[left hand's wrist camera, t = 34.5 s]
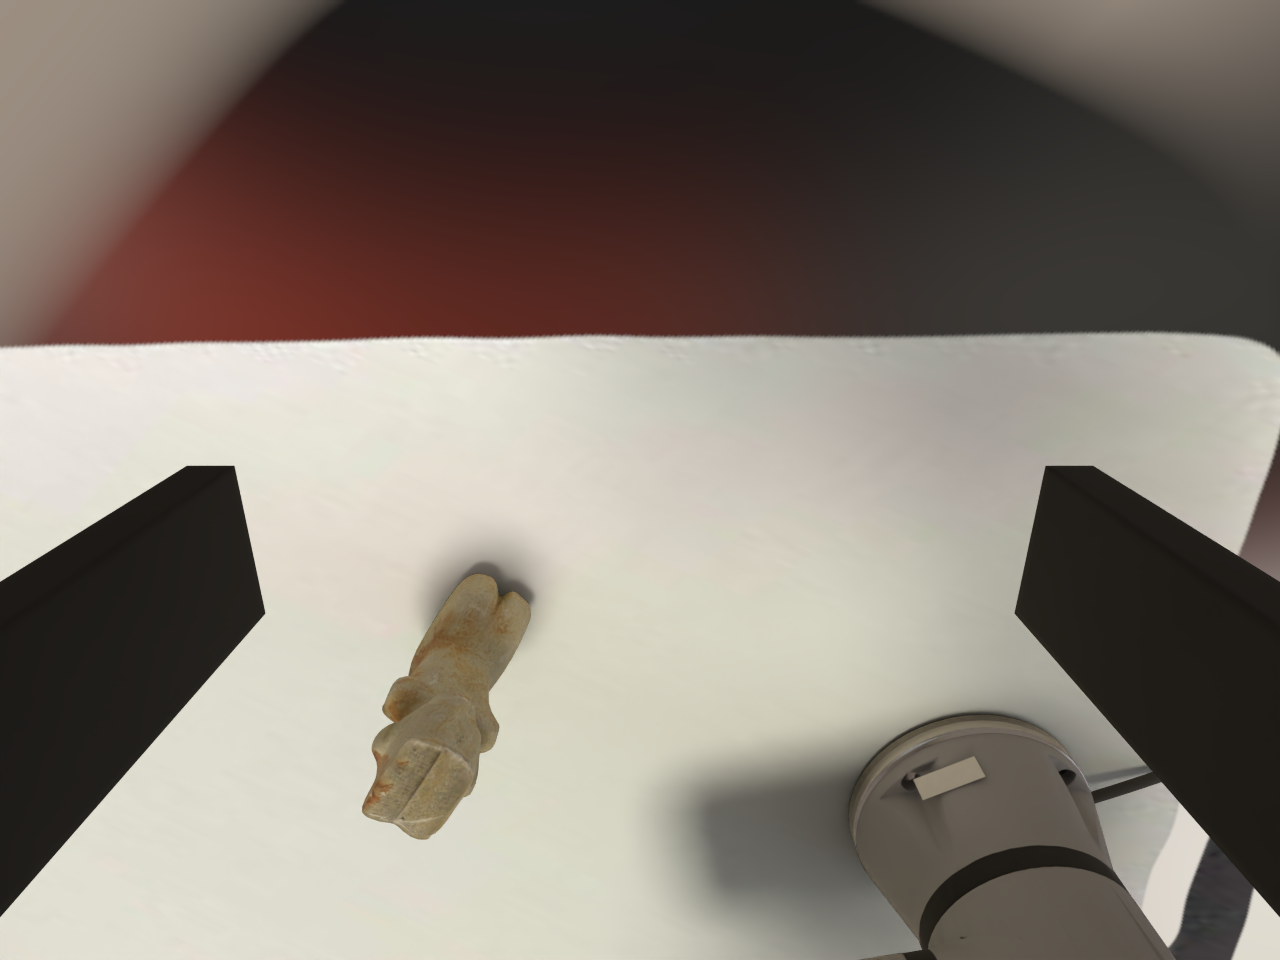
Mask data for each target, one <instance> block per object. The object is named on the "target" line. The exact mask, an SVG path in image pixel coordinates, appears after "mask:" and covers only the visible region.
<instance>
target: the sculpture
mask: <svg viewBox="0 0 1280 960" xmlns="http://www.w3.org/2000/svg"><path fill="white" fill-rule="evenodd" d="M530 617H531V610H530V607H529V605H528V603H527V602H526V601H525V600H524V599H523V598H522V597H521V596H520V595H519V594H517V593H515V592H509V593H507V594H505V595H503V596H499V593H498V588H497V584H496V582H495V580H494V579H493V578H492V577H490V576H487V575H483V574H473V575H471V576H469V577H467V578H465V579H464V580H463V581H462V582H461V583H460V584H459V585H458V586H457V587H456V589H455V590H454V591H453V593H452V594H451V595H450V597H449V598H448V600H447V601H446V602H445V604H444V605H443V607H442V608H441V610H440V611H439V613H438V615H437V616H436V618H435V619H434V621H433V623H432V624H431V626H430V628H429V629H428V631H427V632H426V634H425V636H424V638H423V640H422V641H421V643H420V645H419V647H418V649H417V650H416V653H415V655H414V658H413V660H412V663H411V667H410V671H409V676H407V677H402V678H399V679H397V680H396V681H395V682H394V684H393V685H392V687H391V689H390V691H389V694H388V696H387V698H386V701H385V704H384V705H383V708H382V710H383V713H384V714H385V715H386V716H387V717H388V718H389V719H390V720H392V721H393V722H394V723H392V724H390V725H388V726H387V727H385V728H384V729H382V730H381V731H380V732H379V733H378V735H377V736H376V737H375V739H374V741H373V744H372V752H373V755H374V757H375V759H376V762H377V775H376V779H375V781H374V783H373V785H372V787H371V789H370V791H369V793H368V795H367V797H366V799H365V801H364V804H363V806H362V813H363V814H364V815H365V816H367V817H368V818H371V819H374V820H377V821H380V822H388V823H393V824H395V825H397V826H398V827H399V828H400V829H401V830H403V831H404V832H405V833H406V834H408V835H409V836H411V837H413V838H416V839H423V840H424V839H429V837H430V836H431V835H432V834H434V833H436V832H437V831H438V830H439V829H440V828H441V827H442V826H443V825H444V823H445V822H446V821H447V820H448V818H449V817H450V815H451V814H452V812H453V811H454V809H455V808H456V806H457V805H458V803H459V802H460V801H461V799H462V798H463V797H466V796H468V795H470V794H471V792H472V790H473V788H474V786H475V784H476V779H477V775H478V766H479V754H480V753H484V752H486V751H488V750H490V749H491V748H492V747H493V746H494V744H495V742H496V738H497V735H498V731H499V724H498V722H497V721H496V719H495V717H494V715H493V714H492V712H491V709H490V706H489V691H490V690H491V688H492V687H493V686H494V684H495V683H496V682H497V680H498V679H499V677H500V676H501V675H502V673H503V672H504V670H505V669H506V667H507V665H508V664H509V662H510V660H511V659H512V657H513V655H514V653H515V651H516V649H517V647H518V645H519V643H520V641H521V639H522V637H523V635H524V633H525V630H526V628H527V626H528V623H529V621H530Z"/></svg>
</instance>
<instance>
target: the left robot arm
mask: <svg viewBox="0 0 1280 960" xmlns="http://www.w3.org/2000/svg"><path fill="white" fill-rule="evenodd" d="M264 614H265V609H264V605H263V600H262V595H261V590H260V586H259V581H258V576H257V571H256V567H255V562H254V557H253V552H252V547H251V543H250V538H249V533H248V528H247V524H246V519H245V514H244V509H243V505H242V500H241V495H240V490H239V486H238V481H237V476H236V471H235V467H234V466H186V467H184V468H183V469H181V470H180V471H178V472H176V473H175V474H173V475H171V476H170V477H168V478H167V479H165V480H163V481H162V482H160V483H159V484H157V485H155V486H154V487H152V488H151V489H149V490H147V491H146V492H144V493H143V494H141V495H139V496H138V497H136V498H134V499H133V500H131V501H130V502H128V503H126V504H125V505H123V506H122V507H120V508H118V509H117V510H115V511H114V512H112V513H110V514H109V515H107V516H105V517H104V518H102V519H101V520H99V521H97V522H96V523H94V524H93V525H91V526H89V527H88V528H86V529H85V530H83V531H81V532H80V533H78V534H77V535H75V536H73V537H72V538H70V539H68V540H67V541H65V542H64V543H62V544H60V545H59V546H57V547H56V548H54V549H52V550H51V551H49V552H48V553H46V554H44V555H43V556H41V557H39V558H38V559H36V560H35V561H33V562H31V563H30V564H28V565H27V566H25V567H23V568H22V569H20V570H19V571H17V572H15V573H14V574H12V575H11V576H9V577H7V578H6V579H4V580H2V581H1V582H0V917H1V916H2V914H3V913H4V912H5V911H6V910H7V909H8V908H9V906H10V905H11V904H12V903H13V902H14V901H15V900H16V898H17V897H18V896H19V895H20V894H21V893H22V892H23V890H24V889H25V888H26V887H27V886H28V885H29V884H30V882H31V881H32V880H33V879H34V878H35V877H36V876H37V874H38V873H39V872H40V871H41V870H42V869H43V868H44V866H45V865H46V864H47V863H48V862H49V861H50V859H51V858H52V857H53V856H54V855H55V854H56V853H57V851H58V850H59V849H60V848H61V847H62V846H63V845H64V843H65V842H66V841H67V840H68V839H69V838H70V837H71V835H72V834H73V833H74V832H75V831H76V830H77V829H78V827H79V826H80V825H81V824H82V823H83V822H84V821H85V819H86V818H87V817H88V816H89V815H90V814H91V813H92V811H93V810H94V809H95V808H96V807H97V806H98V805H99V803H100V802H101V801H102V800H103V799H104V798H105V797H106V795H107V794H108V793H109V792H110V791H111V790H112V788H113V787H114V786H115V785H116V784H117V783H118V782H119V780H120V779H121V778H122V777H123V776H124V775H125V774H126V772H127V771H128V770H129V769H130V768H131V767H132V766H133V764H134V763H135V762H136V761H137V760H138V759H139V758H140V756H141V755H142V754H143V753H144V752H145V751H146V750H147V748H148V747H149V746H150V745H151V744H152V743H153V742H154V740H155V739H156V738H157V737H158V736H159V735H160V734H161V732H162V731H163V730H164V729H165V728H166V727H167V726H168V724H169V723H170V722H171V721H172V720H173V719H174V717H175V716H176V715H177V714H178V713H179V712H180V711H181V709H182V708H183V707H184V706H185V705H186V704H187V703H188V701H189V700H190V699H191V698H192V697H193V696H194V695H195V693H196V692H197V691H198V690H199V689H200V688H201V687H202V685H203V684H204V683H205V682H206V681H207V680H208V679H209V677H210V676H211V675H212V674H213V673H214V672H215V671H216V669H217V668H218V667H219V666H220V665H221V664H222V663H223V661H224V660H225V659H226V658H227V657H228V656H229V655H230V653H231V652H232V651H233V650H234V649H235V648H236V646H237V645H238V644H239V643H240V642H241V641H242V640H243V638H244V637H245V636H246V635H247V634H248V633H249V632H250V630H251V629H252V628H253V627H254V626H255V625H256V624H257V622H258V621H259V620H260V619H261V618H262V617H263V616H264ZM1015 614H1016V616H1017V617H1018V618H1019V619H1020V620H1021V621H1022V622H1023V624H1024V625H1025V626H1026V627H1027V628H1028V629H1029V630H1030V632H1031V633H1032V634H1033V635H1034V636H1035V637H1036V638H1037V640H1038V641H1039V642H1040V643H1041V644H1042V645H1043V646H1044V648H1045V649H1046V650H1047V651H1048V652H1049V653H1050V655H1051V656H1052V657H1053V658H1054V659H1055V660H1056V661H1057V663H1058V664H1059V665H1060V666H1061V667H1062V668H1063V669H1064V671H1065V672H1066V673H1067V674H1068V675H1069V676H1070V677H1071V679H1072V680H1073V681H1074V682H1075V683H1076V684H1077V685H1078V687H1079V688H1080V689H1081V690H1082V691H1083V692H1084V693H1085V695H1086V696H1087V697H1088V698H1089V699H1090V700H1091V701H1092V703H1093V704H1094V705H1095V706H1096V707H1097V708H1098V709H1099V711H1100V712H1101V713H1102V714H1103V715H1104V716H1105V717H1106V719H1107V720H1108V721H1109V722H1110V723H1111V724H1112V726H1113V727H1114V728H1115V729H1116V730H1117V731H1118V732H1119V734H1120V735H1121V736H1122V737H1123V738H1124V739H1125V740H1126V742H1127V743H1128V744H1129V745H1130V746H1131V747H1132V748H1133V750H1134V751H1135V752H1136V753H1137V754H1138V755H1139V756H1140V758H1141V759H1142V760H1143V761H1144V762H1145V763H1146V764H1147V766H1148V767H1149V768H1150V769H1151V770H1152V771H1153V772H1151V773H1148V774H1145V775H1142V776H1139V777H1136V778H1133V779H1130V780H1127V781H1124V782H1121V783H1118V784H1115V785H1111V786H1108V787H1105V788H1102V789H1099V790H1095V791H1092V792H1091V791H1090V788H1089V786H1088V783H1087V780H1086V779H1085V777H1084V775H1083V773H1082V772H1081V770H1080V769H1079V768H1078V766H1077V765H1076V764H1075V762H1074V761H1073V760H1072V758H1071V757H1070V756H1069V754H1068V753H1067V752H1066V750H1065V749H1064V748H1063V747H1062V746H1061V744H1060V743H1059V742H1058V741H1057V740H1055V739H1054V738H1053V737H1052V736H1051V735H1049V734H1048V733H1046V732H1045V731H1043V730H1042V729H1040V728H1038V727H1036V726H1034V725H1032V724H1029V723H1026V722H1024V721H1021V720H1017V719H1013V718H1009V717H1003V716H995V715H967V716H959V717H953V718H948V719H944V720H940V721H937V722H933V723H930V724H928V725H925V726H922V727H920V728H918V729H916V730H914V731H911V732H909V733H908V734H906V735H904V736H902V737H901V738H899V739H897V740H896V741H895V742H893V743H892V744H890V745H889V746H888V747H886V748H885V749H884V750H883V751H882V752H880V753H879V754H878V755H877V756H876V757H875V758H874V759H873V760H872V762H871V763H870V764H869V765H868V766H867V768H866V769H865V770H864V772H863V773H862V775H861V776H860V778H859V780H858V782H857V784H856V786H855V788H854V791H853V793H852V797H851V800H850V806H849V827H850V831H851V835H852V838H853V842H854V845H855V848H856V851H857V854H858V857H859V859H860V862H861V864H862V866H863V868H864V869H865V871H866V872H867V874H868V875H869V877H870V878H871V879H872V881H873V882H874V883H875V885H876V886H877V887H878V888H879V890H880V891H881V892H882V894H883V895H884V896H885V898H886V899H887V900H888V901H889V903H890V904H891V905H892V907H893V908H894V909H895V910H896V912H897V913H898V914H899V916H900V917H901V918H902V919H903V921H904V922H905V923H906V925H907V926H908V927H909V928H910V930H911V931H912V932H913V933H914V935H915V936H916V937H917V939H918V940H919V942H920V945H921V947H922V950H920V951H914V952H907V953H898V954H892V955H885V956H879V957H873V958H867V959H861V960H1176V959H1175V958H1174V956H1173V955H1172V953H1171V952H1170V950H1169V949H1168V948H1167V946H1166V945H1165V943H1164V942H1163V940H1162V939H1161V938H1160V936H1159V935H1158V933H1157V932H1156V931H1155V929H1154V928H1153V926H1152V925H1151V924H1150V922H1149V921H1148V919H1147V918H1146V916H1145V915H1144V913H1143V912H1142V911H1141V909H1140V908H1139V906H1138V905H1137V904H1136V902H1135V901H1134V899H1133V898H1132V897H1131V895H1130V894H1129V892H1128V891H1127V889H1126V888H1125V886H1124V885H1123V884H1122V882H1121V881H1120V879H1119V878H1118V876H1117V875H1116V873H1115V872H1114V870H1113V868H1112V864H1111V861H1110V857H1109V854H1108V850H1107V846H1106V843H1105V839H1104V836H1103V832H1102V829H1101V825H1100V822H1099V818H1098V815H1097V811H1096V808H1095V803H1098V802H1102V801H1105V800H1108V799H1111V798H1114V797H1117V796H1121V795H1124V794H1127V793H1130V792H1133V791H1136V790H1139V789H1142V788H1145V787H1148V786H1151V785H1154V784H1157V783H1160V782H1162V783H1163V784H1164V785H1165V786H1166V787H1167V788H1168V790H1169V791H1170V792H1171V793H1172V794H1173V795H1174V797H1175V798H1176V799H1177V800H1178V801H1179V802H1180V803H1181V805H1182V806H1183V807H1184V808H1185V809H1186V810H1187V811H1188V813H1189V814H1190V815H1191V816H1192V817H1193V818H1194V819H1195V821H1196V822H1197V823H1198V824H1199V825H1200V826H1201V827H1202V829H1203V830H1204V831H1205V832H1206V833H1207V834H1208V835H1209V837H1210V838H1211V839H1212V840H1213V841H1214V842H1215V843H1216V845H1217V846H1218V847H1219V848H1220V849H1221V850H1222V851H1223V853H1224V854H1225V855H1226V856H1227V857H1228V858H1229V859H1230V861H1231V862H1232V863H1233V864H1234V865H1235V866H1236V868H1237V869H1238V870H1239V871H1240V872H1241V873H1242V874H1243V876H1244V877H1245V878H1246V879H1247V880H1248V881H1249V882H1250V884H1251V885H1252V886H1253V887H1254V888H1255V889H1256V890H1257V892H1258V893H1259V894H1260V895H1261V896H1262V897H1263V898H1264V900H1265V901H1266V902H1267V903H1268V904H1269V905H1270V906H1271V908H1272V909H1273V910H1274V911H1275V912H1276V913H1277V914H1278V916H1279V917H1280V582H1279V581H1278V580H1276V579H1274V578H1273V577H1271V576H1269V575H1268V574H1266V573H1265V572H1263V571H1261V570H1260V569H1258V568H1257V567H1255V566H1253V565H1252V564H1250V563H1248V562H1247V561H1245V560H1244V559H1242V558H1241V557H1239V556H1237V555H1236V554H1234V553H1232V552H1231V551H1229V550H1228V549H1226V548H1224V547H1223V546H1221V545H1220V544H1218V543H1216V542H1215V541H1213V540H1212V539H1210V538H1208V537H1207V536H1205V535H1203V534H1202V533H1200V532H1199V531H1197V530H1195V529H1194V528H1192V527H1191V526H1189V525H1187V524H1186V523H1184V522H1183V521H1181V520H1179V519H1178V518H1176V517H1175V516H1173V515H1171V514H1170V513H1168V512H1166V511H1165V510H1163V509H1162V508H1160V507H1158V506H1157V505H1155V504H1154V503H1152V502H1150V501H1149V500H1147V499H1146V498H1144V497H1142V496H1141V495H1139V494H1137V493H1136V492H1134V491H1133V490H1131V489H1129V488H1128V487H1126V486H1125V485H1123V484H1121V483H1120V482H1118V481H1117V480H1115V479H1113V478H1112V477H1110V476H1109V475H1107V474H1105V473H1104V472H1102V471H1100V470H1099V469H1097V468H1096V467H1094V466H1046V467H1045V471H1044V476H1043V481H1042V486H1041V490H1040V495H1039V500H1038V505H1037V509H1036V514H1035V519H1034V524H1033V528H1032V533H1031V538H1030V543H1029V547H1028V552H1027V557H1026V562H1025V567H1024V571H1023V576H1022V581H1021V586H1020V590H1019V595H1018V600H1017V605H1016V609H1015Z"/></svg>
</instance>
